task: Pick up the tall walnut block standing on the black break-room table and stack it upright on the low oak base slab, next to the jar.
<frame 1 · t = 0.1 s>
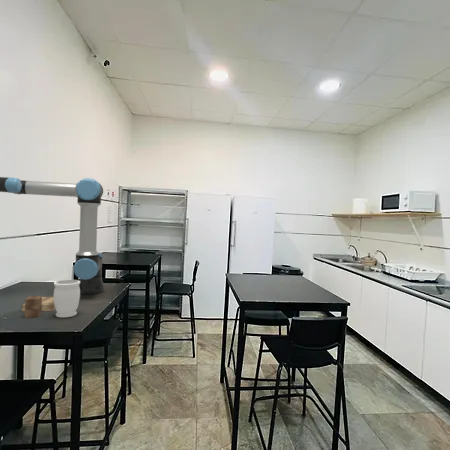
jar: (66, 315, 137), on the table
block: (33, 315, 134), on the table
base: (42, 306, 147), on the table
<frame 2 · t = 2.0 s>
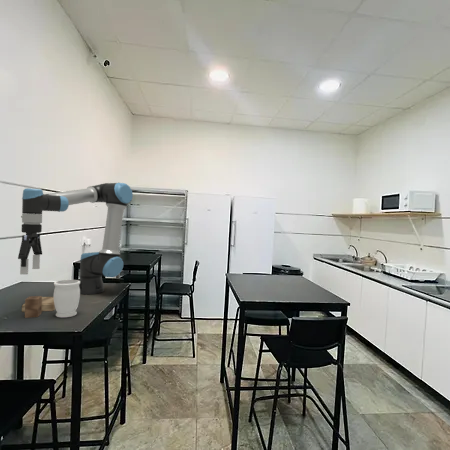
hand: (30, 271, 135), 19 cm above the table, fingers open, 13 cm apart
nothing on the table moved.
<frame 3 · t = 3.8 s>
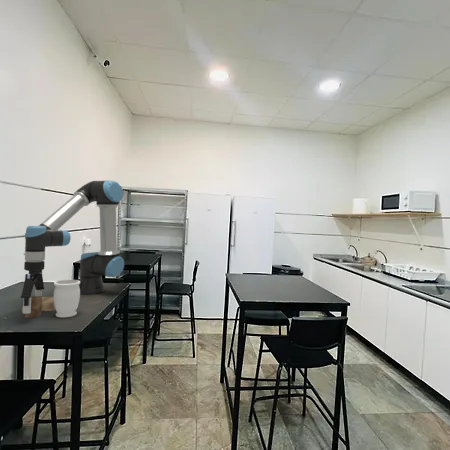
hand: (32, 309, 134), 3 cm above the table, fingers open, 13 cm apart
nothing on the table moved.
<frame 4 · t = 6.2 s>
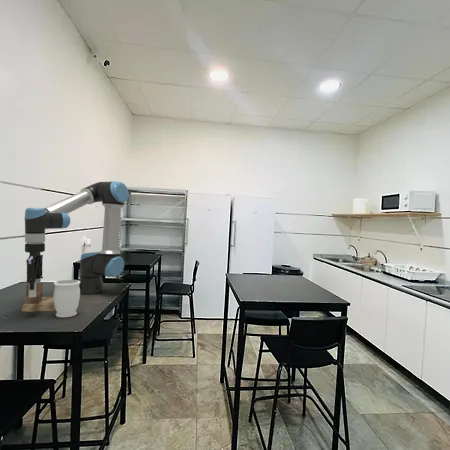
hand: (34, 295, 135), 9 cm above the table, fingers closed on block, 5 cm apart
block: (34, 302, 135), point 6 cm above the table, touching gripper
everything else where it was.
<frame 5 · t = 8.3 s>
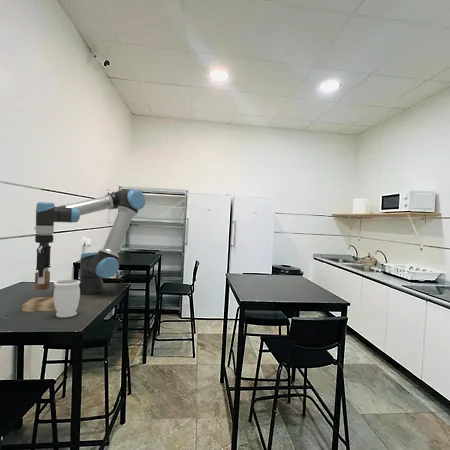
hand: (42, 282, 147), 12 cm above the table, fingers closed on block, 5 cm apart
block: (42, 288, 147), point 9 cm above the table, touching gripper
everything else where it was.
when the fingers open (4 cm above the table, at t = 10.3 s): block stays where it is, resting on base.
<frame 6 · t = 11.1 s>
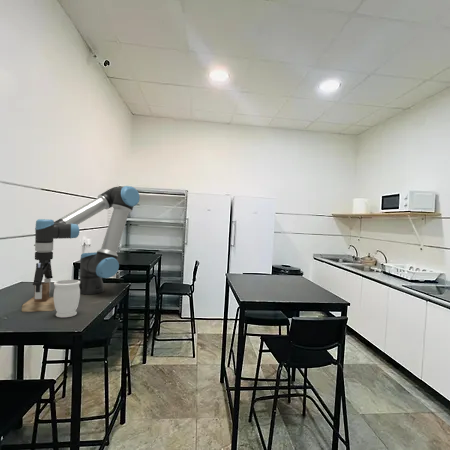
hand: (42, 295, 147), 6 cm above the table, fingers open, 13 cm apart
block: (41, 300, 147), point 3 cm above the table, touching base
everything else where it was.
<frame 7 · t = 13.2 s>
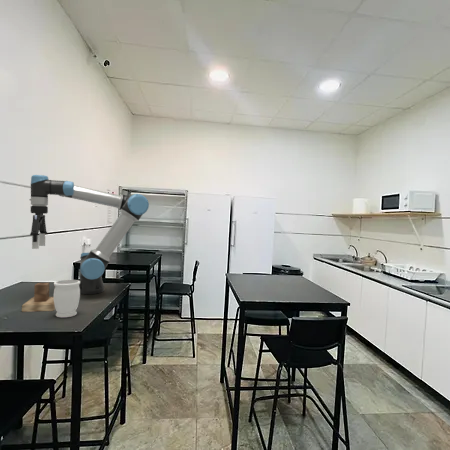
hand: (38, 247, 156), 28 cm above the table, fingers open, 13 cm apart
nothing on the table moved.
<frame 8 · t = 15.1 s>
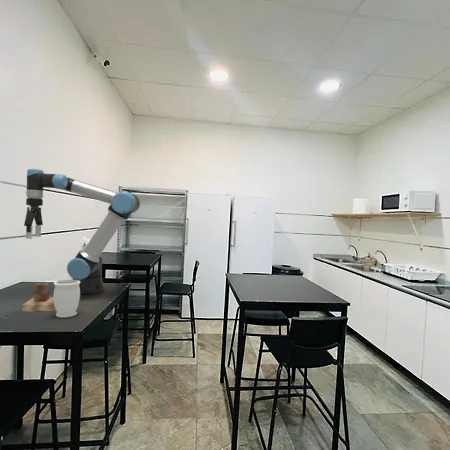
hand: (33, 237, 164), 32 cm above the table, fingers open, 13 cm apart
nothing on the table moved.
at the end: block inside the target area on the base (0.4 cm from its centre), point 3.2 cm above the base's base; block tilted 0°; the gripper is holding nothing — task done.
